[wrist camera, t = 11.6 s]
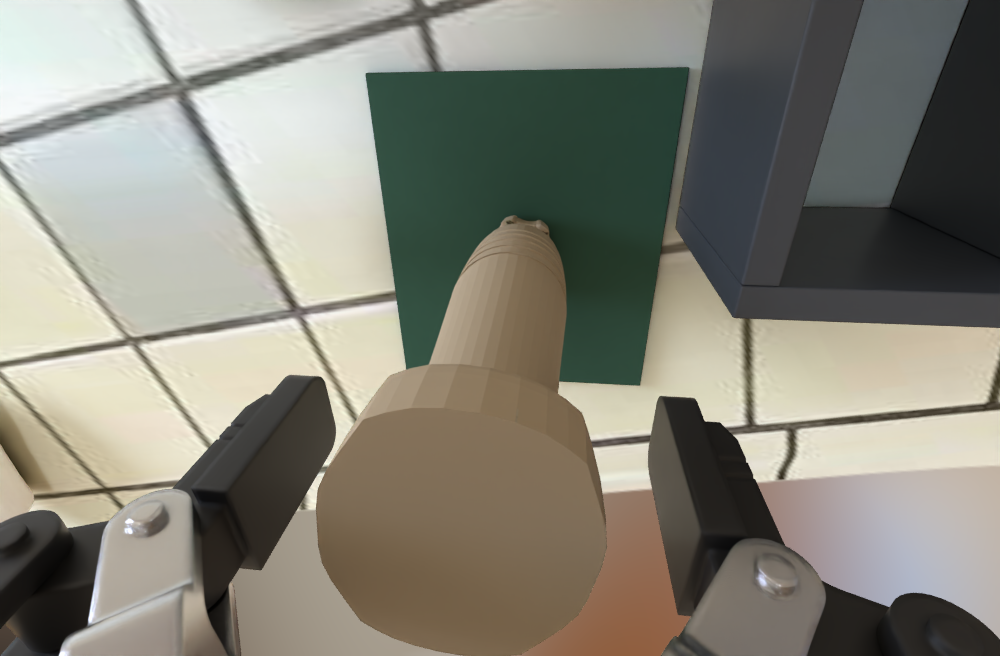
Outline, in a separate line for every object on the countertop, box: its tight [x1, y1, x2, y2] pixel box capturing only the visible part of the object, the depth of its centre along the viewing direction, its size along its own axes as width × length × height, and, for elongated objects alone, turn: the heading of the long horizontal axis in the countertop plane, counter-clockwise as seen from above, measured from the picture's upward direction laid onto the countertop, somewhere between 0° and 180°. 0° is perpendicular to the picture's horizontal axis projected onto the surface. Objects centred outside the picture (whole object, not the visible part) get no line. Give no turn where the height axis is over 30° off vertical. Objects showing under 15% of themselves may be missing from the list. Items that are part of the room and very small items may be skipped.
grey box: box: [676, 0, 1000, 328], centre depth 14 cm, size 10×9×8 cm
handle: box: [316, 215, 607, 656], centre depth 15 cm, size 5×6×15 cm
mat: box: [366, 67, 689, 385], centre depth 21 cm, size 14×12×1 cm
